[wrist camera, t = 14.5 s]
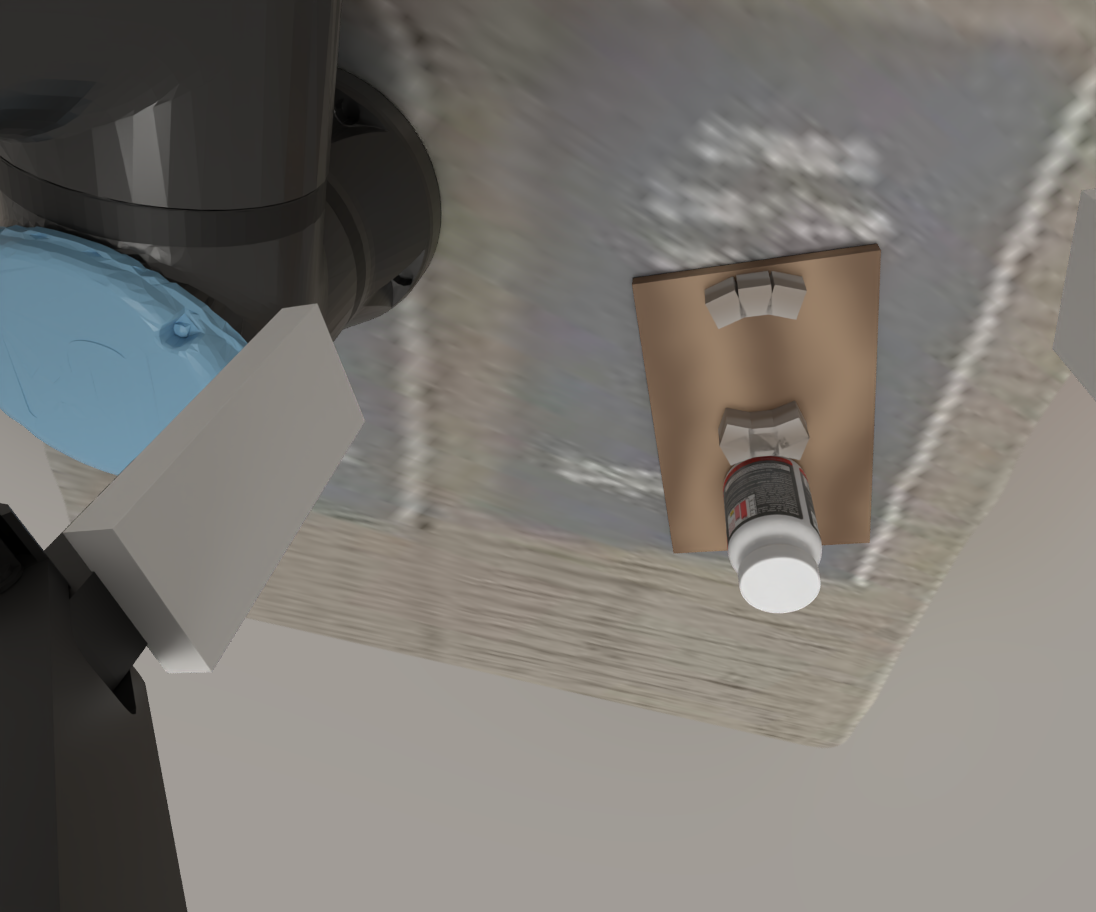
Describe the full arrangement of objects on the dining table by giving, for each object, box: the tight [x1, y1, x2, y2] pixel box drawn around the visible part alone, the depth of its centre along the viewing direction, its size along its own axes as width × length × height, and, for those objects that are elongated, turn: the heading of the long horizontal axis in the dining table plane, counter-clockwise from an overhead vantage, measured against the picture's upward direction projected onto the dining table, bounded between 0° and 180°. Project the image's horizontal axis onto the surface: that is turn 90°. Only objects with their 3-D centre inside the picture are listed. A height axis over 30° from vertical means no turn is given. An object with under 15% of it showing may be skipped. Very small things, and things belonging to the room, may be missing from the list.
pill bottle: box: [723, 455, 822, 613], centre depth 49 cm, size 6×6×10 cm
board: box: [632, 244, 881, 553], centre depth 50 cm, size 14×22×3 cm, turn 12°
